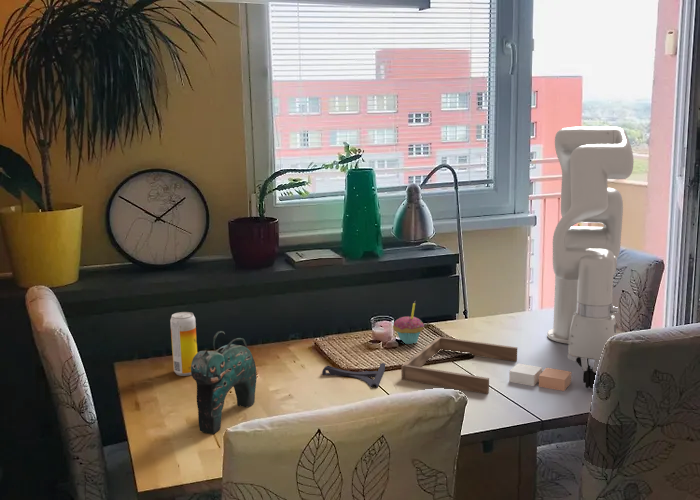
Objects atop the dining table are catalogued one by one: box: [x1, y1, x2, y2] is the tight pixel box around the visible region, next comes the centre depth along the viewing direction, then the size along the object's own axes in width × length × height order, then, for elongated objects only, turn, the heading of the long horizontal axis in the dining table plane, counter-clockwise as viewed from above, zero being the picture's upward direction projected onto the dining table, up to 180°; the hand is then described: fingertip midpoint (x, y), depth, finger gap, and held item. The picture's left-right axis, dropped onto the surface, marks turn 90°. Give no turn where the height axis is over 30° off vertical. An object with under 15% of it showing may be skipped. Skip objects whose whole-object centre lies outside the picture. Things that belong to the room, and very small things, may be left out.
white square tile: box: [508, 363, 543, 387], centre depth 181 cm, size 6×6×3 cm
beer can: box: [169, 311, 198, 377], centre depth 188 cm, size 6×6×15 cm
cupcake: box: [392, 300, 425, 345], centre depth 210 cm, size 9×8×12 cm
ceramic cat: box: [190, 330, 258, 435], centre depth 160 cm, size 20×6×20 cm, turn 156°
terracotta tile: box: [538, 367, 573, 392], centre depth 177 cm, size 6×6×3 cm
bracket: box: [321, 362, 387, 389], centre depth 185 cm, size 14×15×3 cm
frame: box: [401, 336, 518, 395], centre depth 188 cm, size 25×22×4 cm
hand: (590, 386), depth 174 cm, fingers closed
